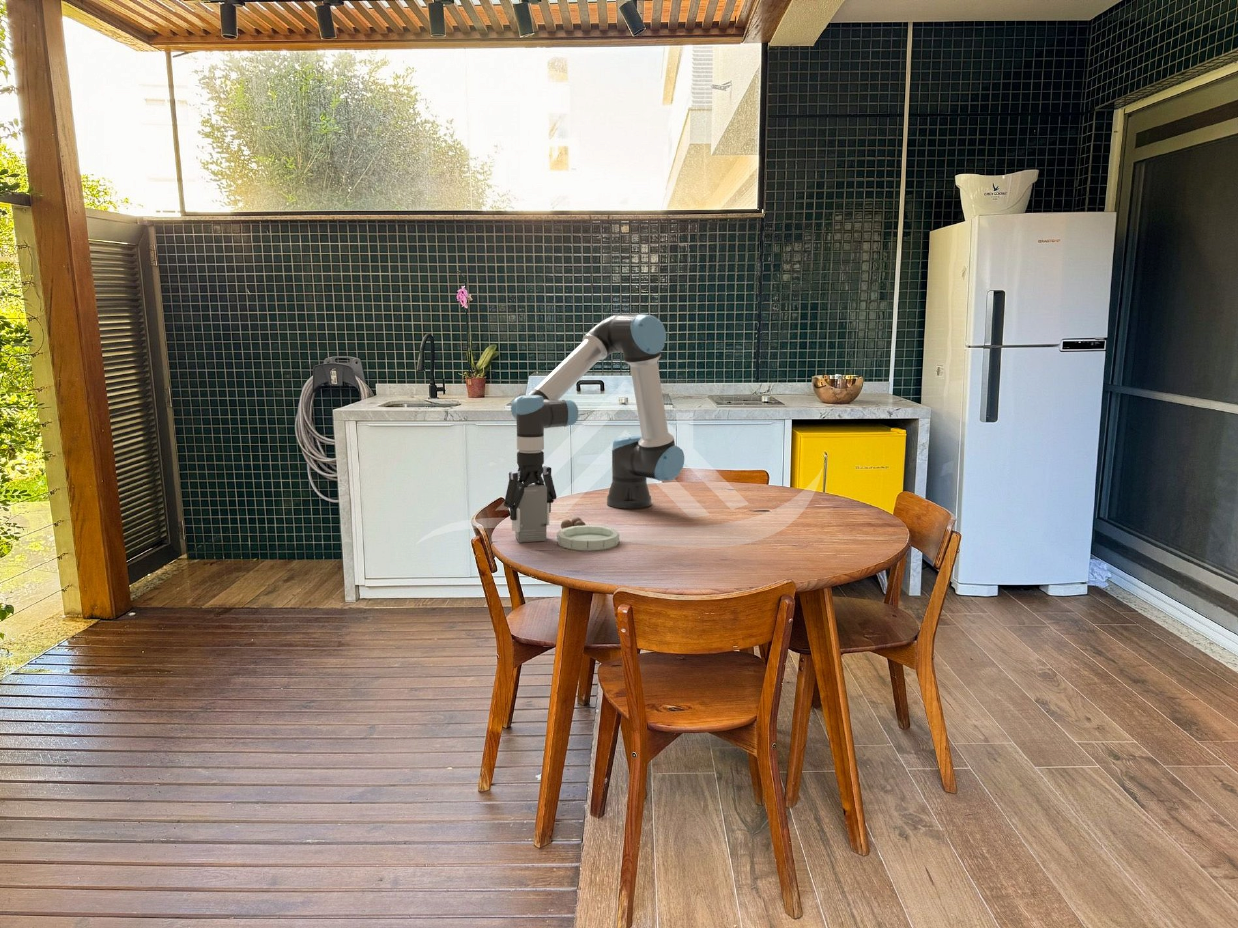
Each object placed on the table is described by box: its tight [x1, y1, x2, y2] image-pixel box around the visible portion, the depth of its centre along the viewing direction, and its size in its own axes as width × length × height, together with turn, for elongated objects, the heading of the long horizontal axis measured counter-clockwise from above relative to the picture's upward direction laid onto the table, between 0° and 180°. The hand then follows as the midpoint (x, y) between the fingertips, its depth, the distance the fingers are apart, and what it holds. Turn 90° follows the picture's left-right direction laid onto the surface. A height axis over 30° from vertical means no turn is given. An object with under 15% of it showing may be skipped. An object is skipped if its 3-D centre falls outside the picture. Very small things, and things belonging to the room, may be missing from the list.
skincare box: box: [514, 483, 548, 543], centre depth 236 cm, size 8×7×16 cm
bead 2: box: [570, 517, 583, 526], centre depth 249 cm, size 4×4×4 cm
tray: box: [556, 524, 620, 552], centre depth 234 cm, size 17×17×3 cm
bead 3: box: [574, 520, 587, 526], centre depth 245 cm, size 4×4×4 cm
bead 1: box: [560, 519, 573, 529], centre depth 246 cm, size 4×4×4 cm
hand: (531, 527), depth 237 cm, fingers closed on skincare box, 10 cm apart
